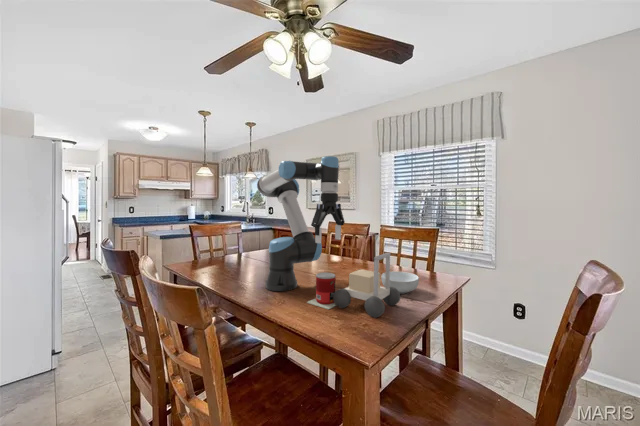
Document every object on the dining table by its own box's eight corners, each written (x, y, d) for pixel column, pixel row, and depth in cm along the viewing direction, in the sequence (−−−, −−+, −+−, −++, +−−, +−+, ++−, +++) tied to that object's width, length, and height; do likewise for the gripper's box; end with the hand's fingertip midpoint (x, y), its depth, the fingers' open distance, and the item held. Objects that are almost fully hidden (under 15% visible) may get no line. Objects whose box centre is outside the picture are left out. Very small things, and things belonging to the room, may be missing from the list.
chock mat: (306, 302, 113) (306, 301, 113) (323, 295, 121) (323, 294, 121) (328, 309, 106) (328, 308, 106) (344, 301, 115) (344, 300, 115)
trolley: (333, 305, 110) (333, 252, 109) (354, 294, 123) (355, 246, 122) (382, 319, 97) (383, 259, 96) (400, 305, 110) (401, 252, 109)
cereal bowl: (381, 284, 139) (381, 270, 138) (415, 286, 135) (416, 272, 135) (381, 295, 122) (381, 279, 122) (421, 298, 119) (421, 282, 118)
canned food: (333, 305, 109) (334, 277, 108) (314, 303, 111) (314, 276, 110) (336, 298, 116) (336, 272, 116) (318, 297, 118) (318, 271, 118)
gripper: (316, 192, 109) (316, 245, 110) (352, 193, 127) (351, 239, 129) (303, 192, 113) (302, 243, 115) (339, 193, 132) (338, 237, 134)
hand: (328, 241), depth 122 cm, fingers open, 13 cm apart
